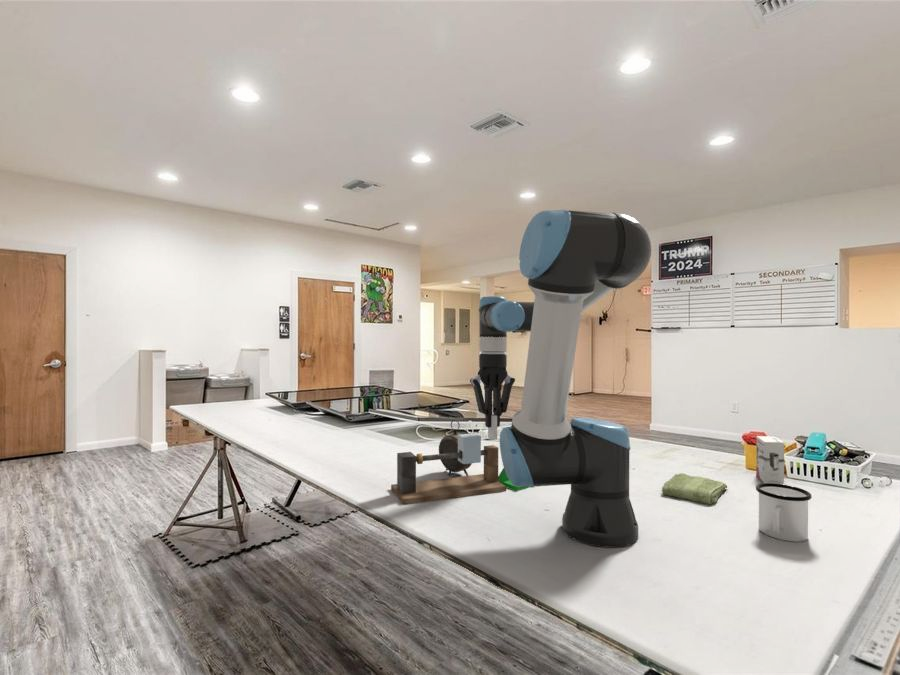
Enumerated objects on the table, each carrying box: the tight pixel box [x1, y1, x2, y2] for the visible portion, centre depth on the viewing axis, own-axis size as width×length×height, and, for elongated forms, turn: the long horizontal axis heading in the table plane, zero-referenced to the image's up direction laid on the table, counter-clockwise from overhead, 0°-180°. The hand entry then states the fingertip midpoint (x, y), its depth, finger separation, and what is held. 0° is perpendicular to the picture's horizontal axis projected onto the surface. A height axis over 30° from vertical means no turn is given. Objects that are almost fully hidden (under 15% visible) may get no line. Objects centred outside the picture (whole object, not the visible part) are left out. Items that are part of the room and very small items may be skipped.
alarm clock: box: [438, 419, 473, 477], centre depth 138 cm, size 11×5×16 cm, turn 45°
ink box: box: [755, 435, 785, 485], centre depth 134 cm, size 9×5×12 cm, turn 161°
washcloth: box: [661, 472, 728, 505], centre depth 124 cm, size 13×18×3 cm
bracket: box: [498, 467, 530, 492], centre depth 131 cm, size 12×8×7 cm, turn 129°
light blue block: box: [458, 432, 482, 464], centre depth 127 cm, size 5×4×7 cm
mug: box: [755, 482, 812, 543], centre depth 96 cm, size 12×10×9 cm
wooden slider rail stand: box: [390, 444, 507, 505], centre depth 124 cm, size 28×12×10 cm, turn 111°
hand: (492, 438), depth 129 cm, fingers closed
